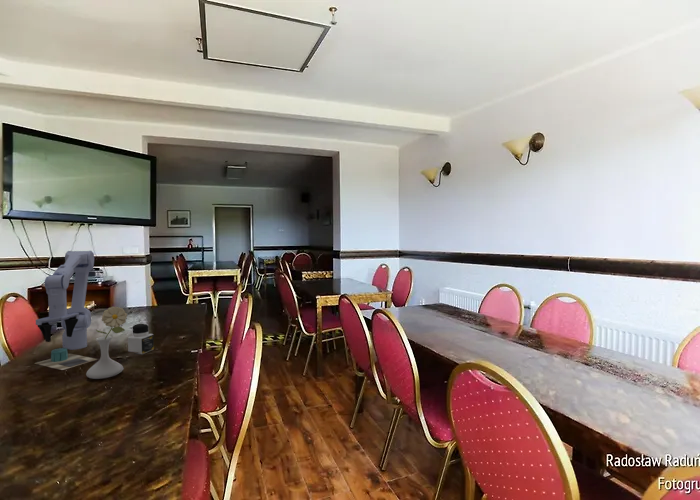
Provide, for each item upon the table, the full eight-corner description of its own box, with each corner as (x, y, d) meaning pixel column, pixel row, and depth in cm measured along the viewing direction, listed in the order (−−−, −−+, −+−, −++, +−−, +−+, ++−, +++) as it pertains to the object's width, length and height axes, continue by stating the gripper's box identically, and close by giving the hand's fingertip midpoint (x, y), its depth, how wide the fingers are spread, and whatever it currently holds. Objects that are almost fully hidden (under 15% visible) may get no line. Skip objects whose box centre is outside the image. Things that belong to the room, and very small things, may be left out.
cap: (48, 360, 150) (48, 350, 150) (62, 357, 154) (62, 347, 154) (56, 362, 148) (56, 352, 148) (70, 358, 152) (69, 348, 152)
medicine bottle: (142, 354, 160) (141, 326, 160) (127, 353, 162) (127, 325, 161) (154, 349, 167) (153, 322, 167) (140, 348, 169) (139, 322, 168)
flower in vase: (83, 384, 129) (81, 311, 128) (88, 373, 139) (86, 305, 138) (127, 377, 135) (126, 308, 134) (129, 367, 145) (127, 302, 144)
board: (34, 365, 147) (33, 356, 147) (70, 355, 159) (70, 347, 159) (62, 372, 140) (62, 363, 140) (98, 361, 152) (97, 353, 152)
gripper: (42, 309, 142) (44, 345, 142) (83, 302, 155) (84, 335, 156) (31, 307, 145) (33, 342, 145) (72, 301, 158) (73, 333, 159)
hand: (58, 339), depth 151 cm, fingers open, 7 cm apart
